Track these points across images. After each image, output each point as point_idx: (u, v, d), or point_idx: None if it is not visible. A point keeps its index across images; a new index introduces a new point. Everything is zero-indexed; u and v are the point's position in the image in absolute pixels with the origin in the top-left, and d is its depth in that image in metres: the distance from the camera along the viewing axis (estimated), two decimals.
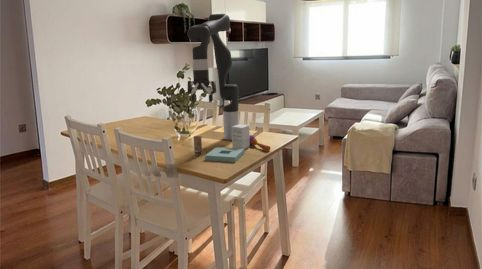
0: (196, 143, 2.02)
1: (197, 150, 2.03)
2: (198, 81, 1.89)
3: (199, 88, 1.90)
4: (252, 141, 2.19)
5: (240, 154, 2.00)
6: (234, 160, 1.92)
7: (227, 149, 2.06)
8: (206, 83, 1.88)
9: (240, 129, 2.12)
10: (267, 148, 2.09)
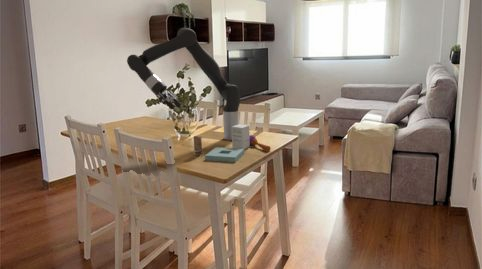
0: (196, 143, 2.02)
1: (197, 150, 2.03)
2: None
3: None
4: (252, 141, 2.19)
5: (240, 154, 2.00)
6: (234, 160, 1.92)
7: (227, 149, 2.06)
8: None
9: (240, 129, 2.12)
10: (267, 148, 2.09)
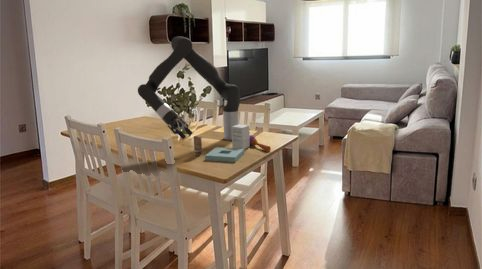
0: (196, 143, 2.02)
1: (197, 150, 2.03)
2: None
3: None
4: (252, 141, 2.19)
5: (240, 154, 2.00)
6: (234, 160, 1.92)
7: (227, 149, 2.06)
8: None
9: (240, 129, 2.12)
10: (267, 148, 2.09)
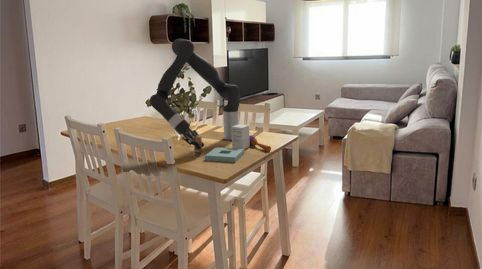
0: None
1: (197, 150, 2.03)
2: None
3: None
4: (252, 141, 2.18)
5: (240, 154, 2.00)
6: (234, 160, 1.92)
7: (227, 149, 2.06)
8: None
9: (240, 129, 2.12)
10: (268, 148, 2.09)
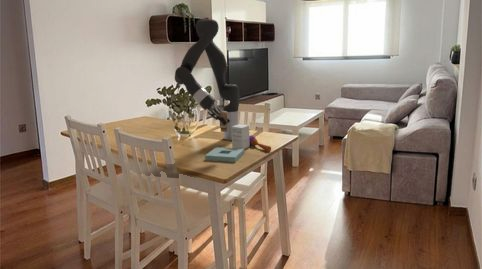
0: None
1: (223, 126, 1.96)
2: None
3: None
4: (252, 141, 2.18)
5: (240, 154, 2.00)
6: (234, 160, 1.92)
7: (227, 149, 2.06)
8: None
9: (240, 129, 2.12)
10: (268, 148, 2.09)
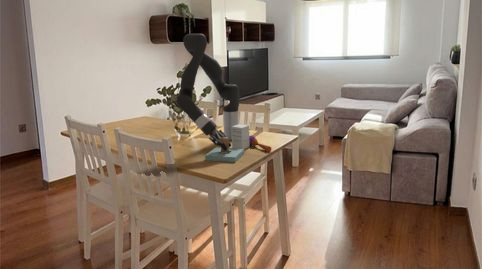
0: None
1: (224, 152, 1.99)
2: None
3: None
4: (253, 141, 2.18)
5: (240, 154, 2.00)
6: (234, 160, 1.92)
7: None
8: None
9: (240, 129, 2.12)
10: (268, 148, 2.08)
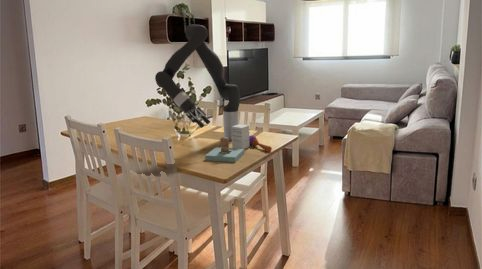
0: (223, 144, 1.98)
1: (224, 152, 1.99)
2: None
3: None
4: (253, 141, 2.18)
5: (240, 154, 2.00)
6: (234, 160, 1.92)
7: None
8: None
9: (240, 129, 2.12)
10: (268, 148, 2.08)
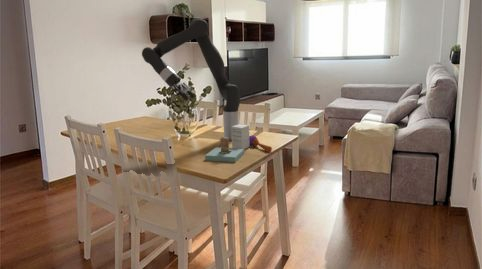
0: (223, 144, 1.98)
1: (224, 152, 1.99)
2: None
3: None
4: (254, 141, 2.18)
5: (240, 154, 2.00)
6: (234, 160, 1.92)
7: None
8: None
9: (240, 129, 2.12)
10: (268, 148, 2.08)
